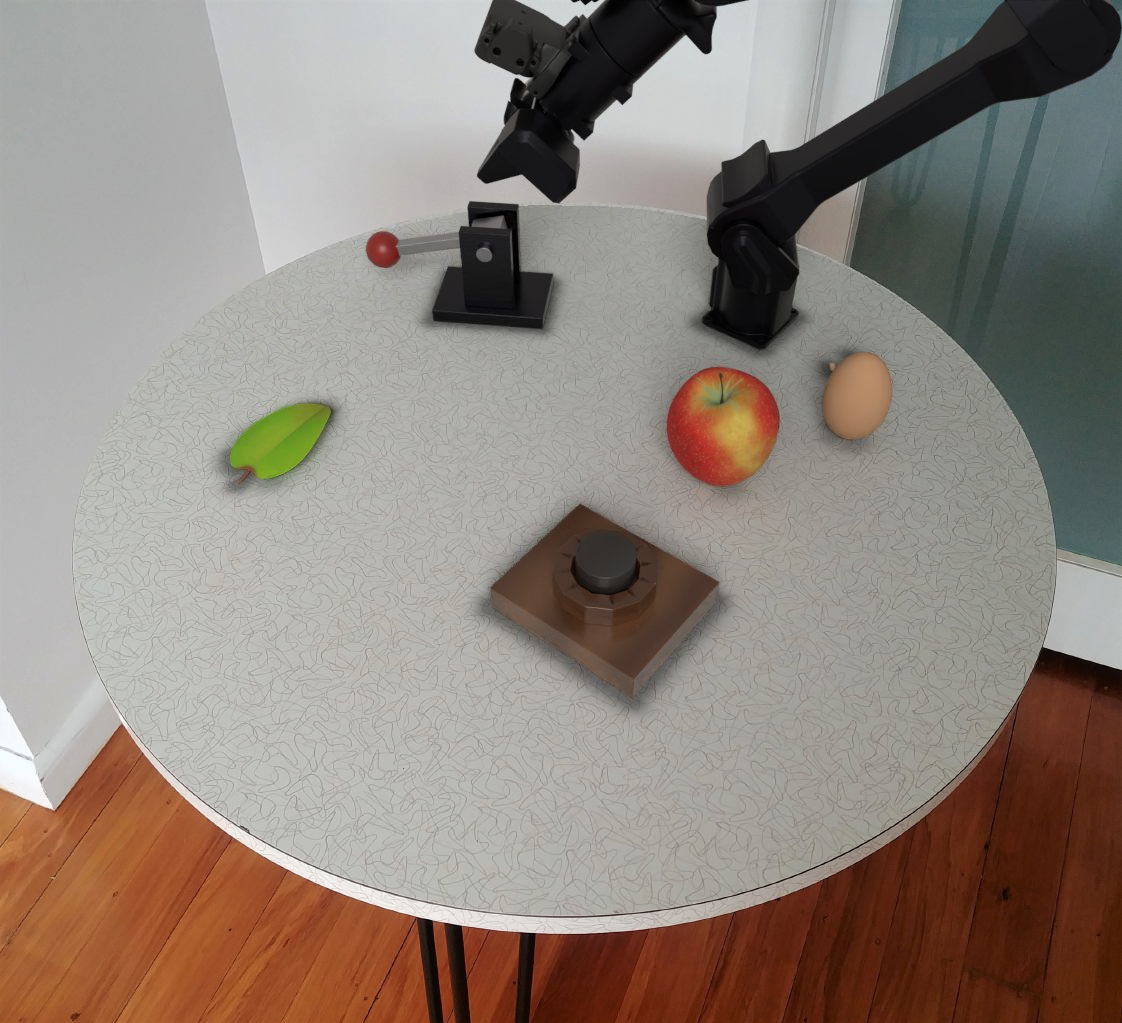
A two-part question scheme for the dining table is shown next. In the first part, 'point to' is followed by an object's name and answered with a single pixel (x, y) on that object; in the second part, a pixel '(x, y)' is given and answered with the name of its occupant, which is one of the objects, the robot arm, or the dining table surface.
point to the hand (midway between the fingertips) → (481, 178)
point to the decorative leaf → (279, 440)
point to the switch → (418, 243)
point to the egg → (857, 396)
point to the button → (605, 563)
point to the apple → (722, 425)
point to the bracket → (492, 276)
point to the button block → (605, 603)
